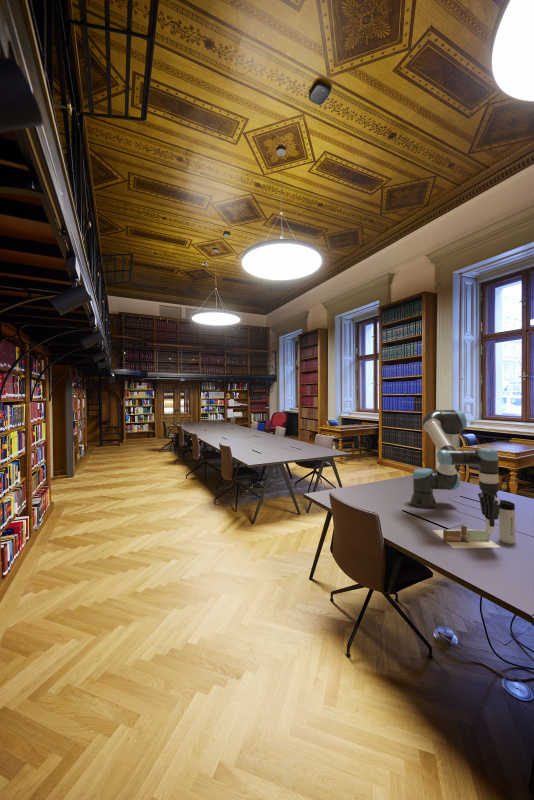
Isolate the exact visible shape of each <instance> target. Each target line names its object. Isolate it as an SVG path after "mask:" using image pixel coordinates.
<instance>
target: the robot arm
mask: <svg viewBox="0 0 534 800" xmlns="http://www.w3.org/2000/svg"><path fill="white" fill-rule="evenodd" d="M421 421H422V422H421V423H422V427H423V430H424V431H425V432H426V433H428V435H429V437H430V438H431V440H432V442H433V444H434V446H435V448H436V449H437V452H436V458H437V462H438V466H436V470H433V469H432V468H428V467H427V468H426V467H425V468H424V467H422V468H416V469H414V471H412V483H413V484H412V487H413V488H412V490H413V492H412V495H411V498H410V505H412V506H414V507H416V508H420V509H427V510H428V509H435V508H437V501H436V499H435V496H434V490H439V491H440V490H444V491H445V490H446V491H455V490H457V489H459V487H460V484H461V476H460V473H459V472H458V471H457V468H456V466H478V479H479V487H478V488H479V490H481V492H479V493H477V495H478V498H479V504H480V510H481V514H482V515H483V516H484V518H485V524H486V525H485V527H486V528H485V530H486V532H487V533H490V534H495V520H496V521H497V520H499V510H500V505H501V503H502V501H501V500H502V499H499V498H498V492H499V491H500V483H499V482H500V480H499V458H500V457H499V453H498V450H497V449H495V448H488V447H487V448H485V447H484V448H483V447H482V448H479V449H478V448H471V449H458V444H459V443H458V441H459V435H461V434H462V433H463V430H465V429H466V428H467V427H468V426H467V425H468V422H467V418H466V414H465V412H464V411H462V410H460V409H434V410H431V411H429V412H427V413H426V414H425V415H424V416H423V418H422V420H421ZM499 500H500V501H499Z"/></svg>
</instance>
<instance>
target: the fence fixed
mask: <svg viewBox="0 0 534 800" xmlns="http://www.w3.org/2000/svg"><path fill="white" fill-rule="evenodd" d="M442 530H443V539H442V540H443V541H444V542H446V541H463V542H467V530H468V527H467V526H466V525H461V527H460V530H461V531H447V530H448V529H442Z"/></svg>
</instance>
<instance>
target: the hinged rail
mask: <svg viewBox="0 0 534 800" xmlns="http://www.w3.org/2000/svg"><path fill="white" fill-rule="evenodd" d="M490 534H491V533H487V532H486V529H474V530H473V529H467V540H468V541H475V540H491V535H490Z"/></svg>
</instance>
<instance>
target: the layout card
mask: <svg viewBox="0 0 534 800" xmlns="http://www.w3.org/2000/svg"><path fill="white" fill-rule="evenodd" d="M443 530H444V529H439V530H438V529H434V530H433V529H432V530H431V531H432V532H433V533H435V535H437V536H438V537H440V538H441V540H443ZM446 530H447V531H461V529H446ZM472 530H475V529H474V528H473V529H472ZM445 543H447V544H448V545H449V546H450V547H451V548H453V549H480V548H483V549H485V548H486V549H487V548H488V549H489V548H492V549H493V548H501V546H500V545H499V544H497V543H495V541H492V540H491V539H490V540H475V541H468V540H467V542H463V541H445Z"/></svg>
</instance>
